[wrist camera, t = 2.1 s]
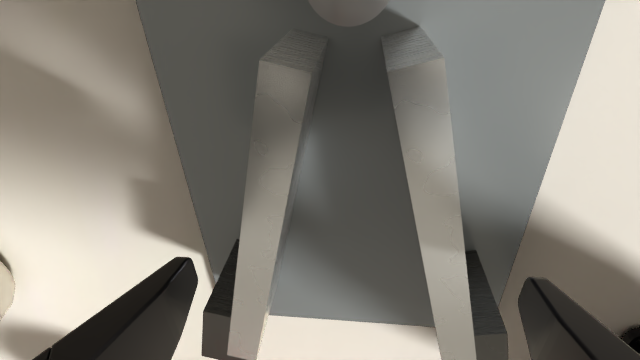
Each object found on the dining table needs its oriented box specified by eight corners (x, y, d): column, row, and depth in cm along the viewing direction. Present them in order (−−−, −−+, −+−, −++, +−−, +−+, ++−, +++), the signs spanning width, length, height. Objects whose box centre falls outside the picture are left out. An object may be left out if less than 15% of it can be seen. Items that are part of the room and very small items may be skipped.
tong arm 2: (328, 37, 11) (311, 72, 8) (275, 291, 18) (254, 368, 15) (259, 21, 11) (212, 48, 8) (232, 281, 18) (201, 355, 15)
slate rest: (633, -136, 9) (867, -216, 5) (485, 317, 19) (519, 423, 14) (122, -100, 11) (-39, -137, 6) (228, 299, 20) (192, 390, 16)
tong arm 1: (456, 16, 10) (498, 43, 7) (480, 296, 17) (508, 383, 13) (380, 36, 11) (386, 72, 8) (430, 301, 17) (446, 385, 14)
